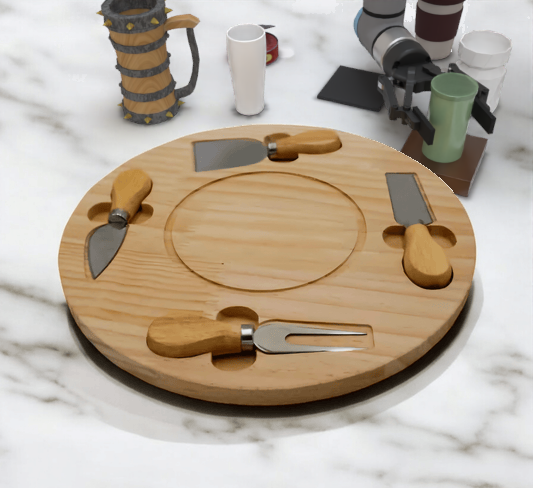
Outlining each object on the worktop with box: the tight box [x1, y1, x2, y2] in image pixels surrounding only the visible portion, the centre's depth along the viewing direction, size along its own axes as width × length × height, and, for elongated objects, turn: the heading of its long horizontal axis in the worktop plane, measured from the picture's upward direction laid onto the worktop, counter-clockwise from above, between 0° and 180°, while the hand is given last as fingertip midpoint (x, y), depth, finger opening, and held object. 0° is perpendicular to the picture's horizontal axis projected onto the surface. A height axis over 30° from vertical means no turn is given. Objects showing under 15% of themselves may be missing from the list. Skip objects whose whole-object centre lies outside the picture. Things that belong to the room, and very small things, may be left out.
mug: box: [95, 0, 201, 125], centre depth 114 cm, size 13×17×20 cm
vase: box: [455, 29, 514, 117], centre depth 114 cm, size 9×9×12 cm
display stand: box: [399, 129, 489, 198], centre depth 105 cm, size 12×12×3 cm
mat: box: [316, 64, 395, 113], centre depth 123 cm, size 12×12×1 cm
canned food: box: [258, 24, 280, 67], centre depth 132 cm, size 11×10×10 cm
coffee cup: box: [414, 0, 467, 61], centre depth 127 cm, size 10×10×15 cm
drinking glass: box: [225, 22, 267, 116], centre depth 115 cm, size 7×7×15 cm
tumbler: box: [422, 73, 479, 163], centre depth 100 cm, size 7×7×12 cm
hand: (462, 132), depth 96 cm, fingers open, 9 cm apart
